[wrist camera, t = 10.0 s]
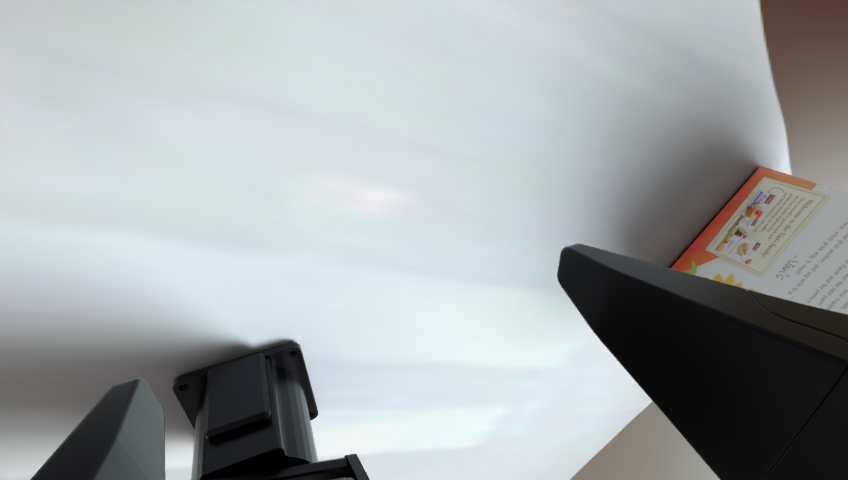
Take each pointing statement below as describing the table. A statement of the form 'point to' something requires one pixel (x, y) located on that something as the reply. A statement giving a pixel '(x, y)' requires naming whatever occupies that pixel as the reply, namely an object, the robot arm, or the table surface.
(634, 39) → the table surface
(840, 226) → the cracker box
